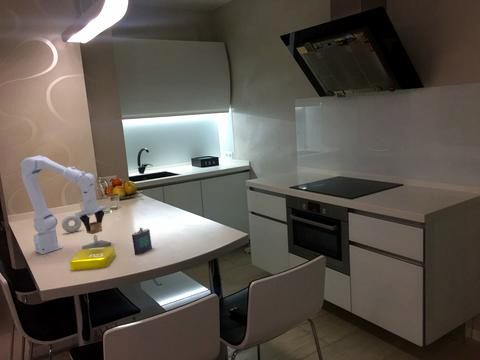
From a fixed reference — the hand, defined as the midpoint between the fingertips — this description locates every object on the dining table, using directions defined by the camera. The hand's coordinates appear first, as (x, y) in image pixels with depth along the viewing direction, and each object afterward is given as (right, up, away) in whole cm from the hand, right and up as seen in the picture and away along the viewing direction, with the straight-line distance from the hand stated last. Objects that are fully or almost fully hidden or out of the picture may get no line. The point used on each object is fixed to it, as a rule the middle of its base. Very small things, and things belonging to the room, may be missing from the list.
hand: (94, 229), depth 187 cm
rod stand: (+1, -9, +2) cm, 9 cm away
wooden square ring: (0, -1, 0) cm, 1 cm away
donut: (-22, -6, +30) cm, 38 cm away
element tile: (+6, -12, -17) cm, 22 cm away
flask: (+25, -9, -9) cm, 28 cm away
